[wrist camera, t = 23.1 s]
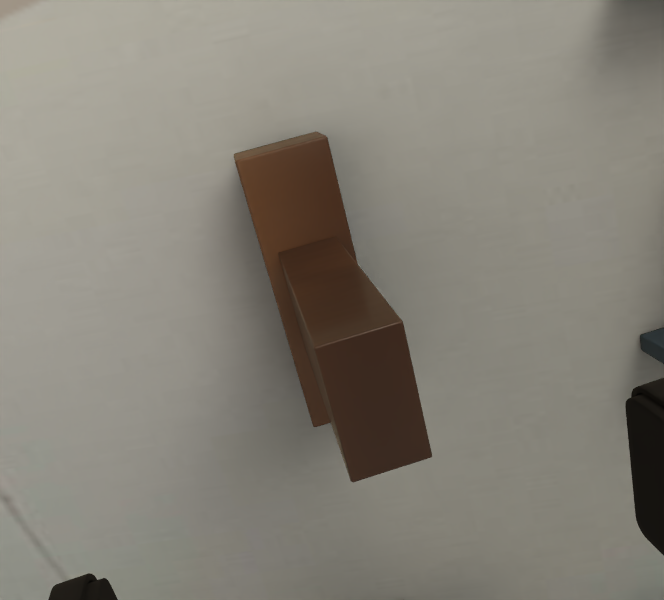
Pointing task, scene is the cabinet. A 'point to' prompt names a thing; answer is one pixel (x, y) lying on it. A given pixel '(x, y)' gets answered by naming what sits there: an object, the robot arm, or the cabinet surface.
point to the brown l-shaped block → (333, 308)
